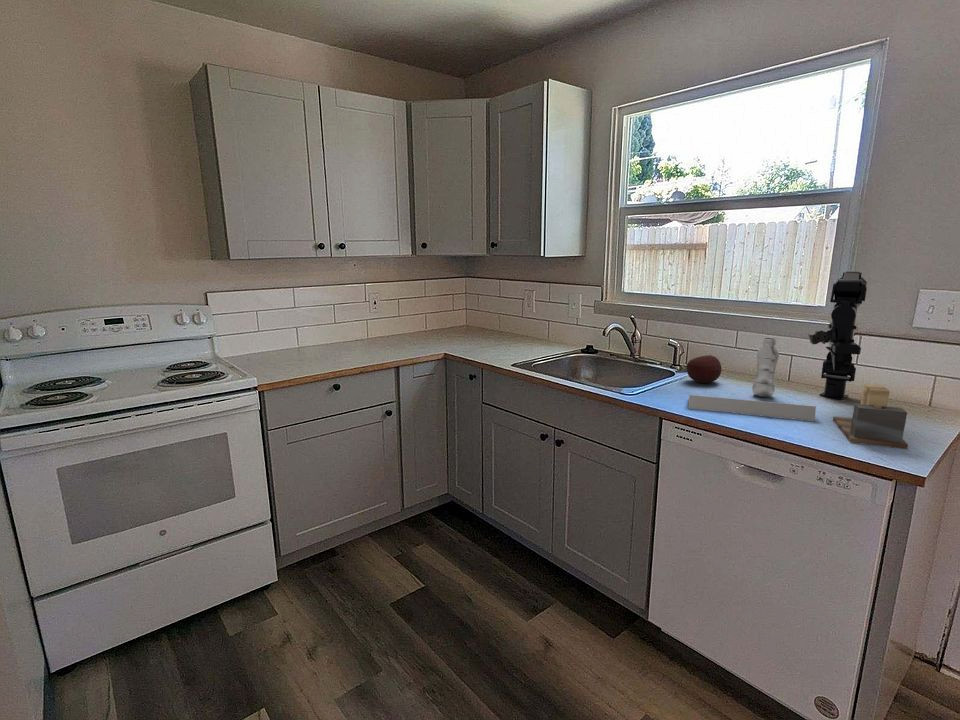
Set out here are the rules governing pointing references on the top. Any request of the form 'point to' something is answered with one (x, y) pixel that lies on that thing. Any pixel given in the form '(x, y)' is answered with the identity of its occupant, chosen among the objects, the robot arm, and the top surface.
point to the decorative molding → (752, 407)
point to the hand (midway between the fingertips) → (836, 371)
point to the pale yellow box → (875, 395)
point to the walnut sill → (874, 426)
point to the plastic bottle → (766, 368)
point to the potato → (704, 369)
